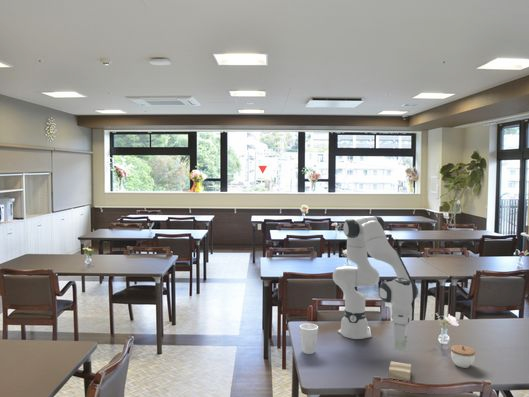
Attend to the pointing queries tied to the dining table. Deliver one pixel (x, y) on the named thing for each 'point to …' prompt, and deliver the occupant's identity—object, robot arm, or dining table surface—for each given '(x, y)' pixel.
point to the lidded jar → (462, 355)
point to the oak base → (400, 371)
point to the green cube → (402, 345)
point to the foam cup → (308, 337)
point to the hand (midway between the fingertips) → (400, 344)
